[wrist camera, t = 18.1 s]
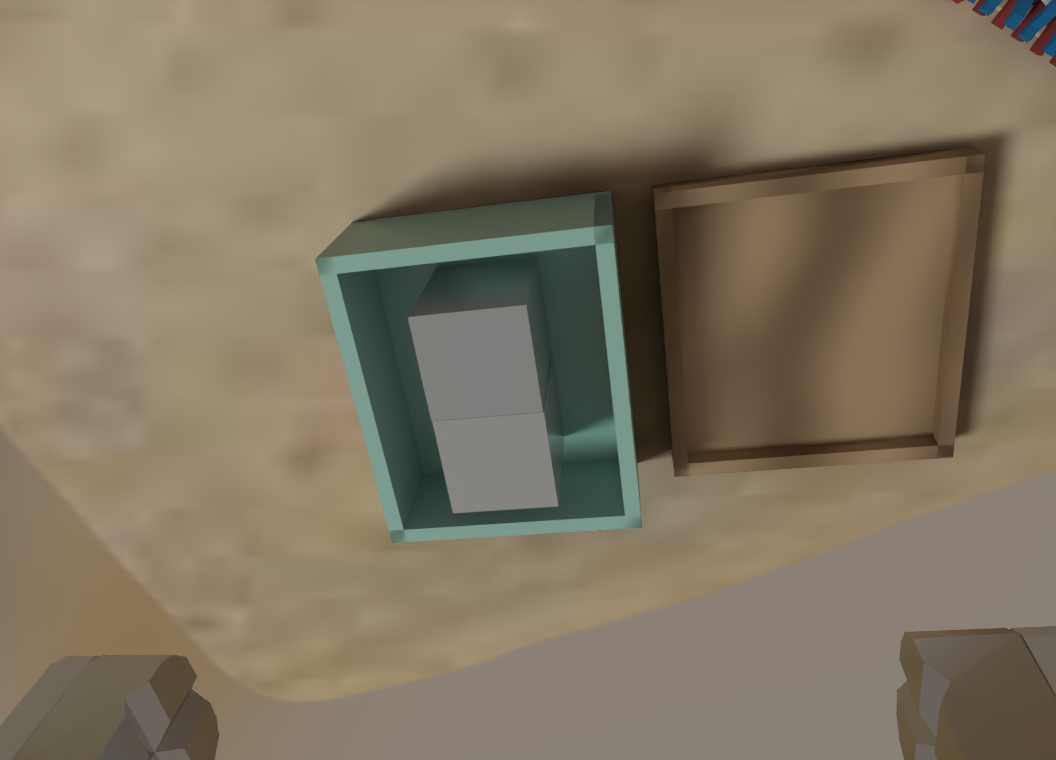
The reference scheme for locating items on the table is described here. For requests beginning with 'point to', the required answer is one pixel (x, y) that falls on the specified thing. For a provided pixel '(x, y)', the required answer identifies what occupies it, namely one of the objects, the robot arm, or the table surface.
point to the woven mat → (1025, 21)
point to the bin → (576, 342)
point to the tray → (817, 311)
